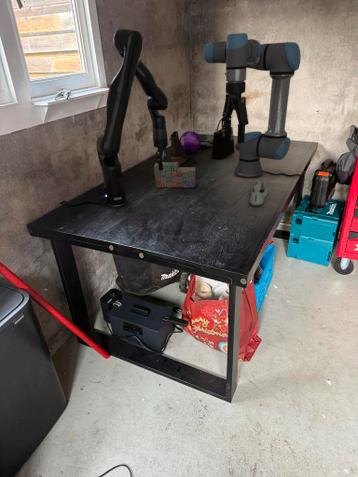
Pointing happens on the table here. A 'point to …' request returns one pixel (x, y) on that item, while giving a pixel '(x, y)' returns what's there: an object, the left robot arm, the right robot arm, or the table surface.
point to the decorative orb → (190, 142)
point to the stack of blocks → (174, 175)
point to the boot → (177, 149)
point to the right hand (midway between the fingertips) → (233, 139)
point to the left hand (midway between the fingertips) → (162, 167)
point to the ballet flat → (258, 193)
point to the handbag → (222, 143)
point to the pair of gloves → (207, 141)
